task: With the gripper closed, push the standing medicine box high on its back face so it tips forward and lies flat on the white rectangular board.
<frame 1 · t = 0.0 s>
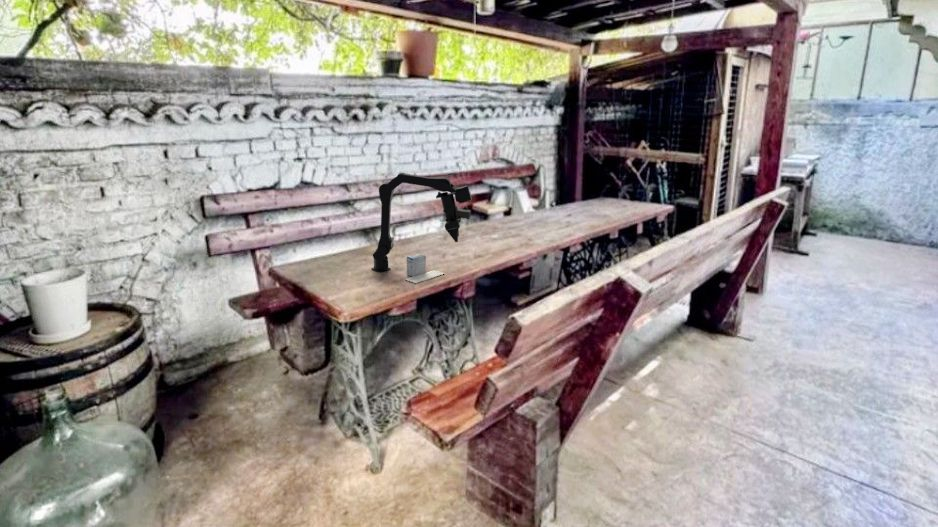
hand: (457, 239, 228), 15 cm above the table, tool pointing down, fingers open, 9 cm apart
medicine box: (416, 274, 229), on the table
white rectangular board: (425, 277, 225), on the table
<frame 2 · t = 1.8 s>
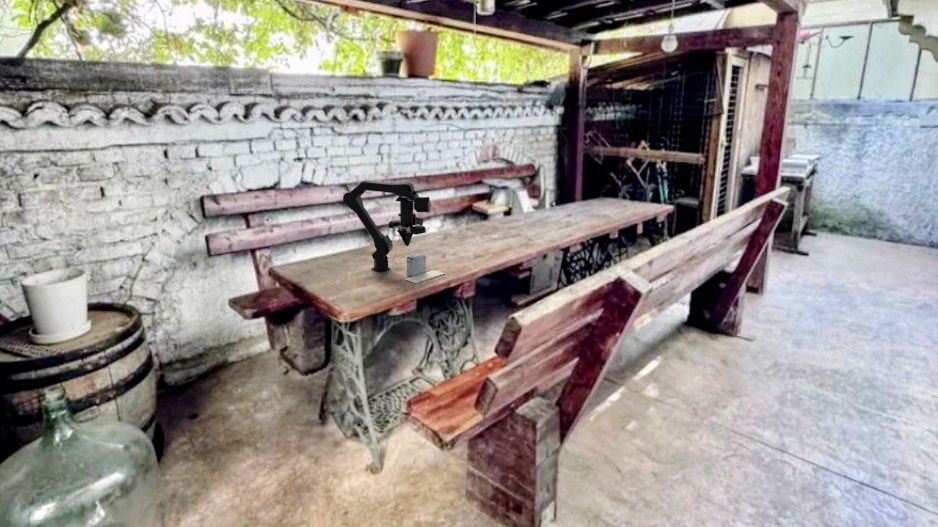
hand: (407, 245, 229), 12 cm above the table, tool pointing down, fingers closed
nothing on the table moved.
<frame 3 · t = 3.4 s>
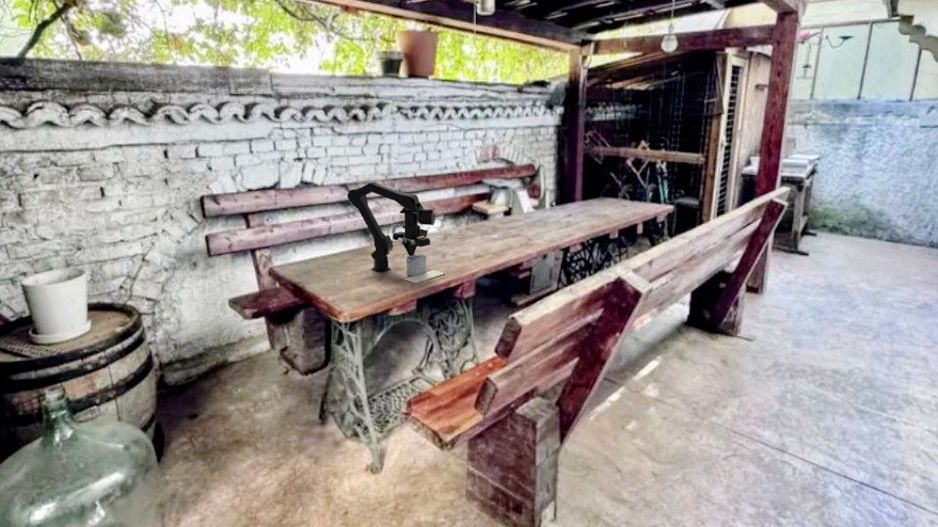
hand: (411, 257, 229), 7 cm above the table, tool pointing down, fingers closed
medicine box: (416, 274, 229), on the table, touching gripper
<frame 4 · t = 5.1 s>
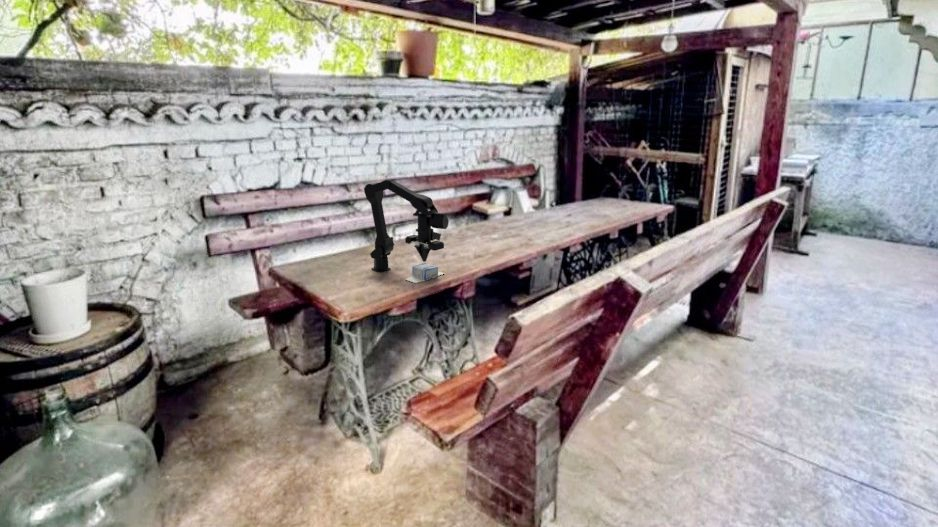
hand: (424, 261, 223), 7 cm above the table, tool pointing down, fingers closed
medicine box: (418, 269, 227), point 3 cm above the table, touching white rectangular board
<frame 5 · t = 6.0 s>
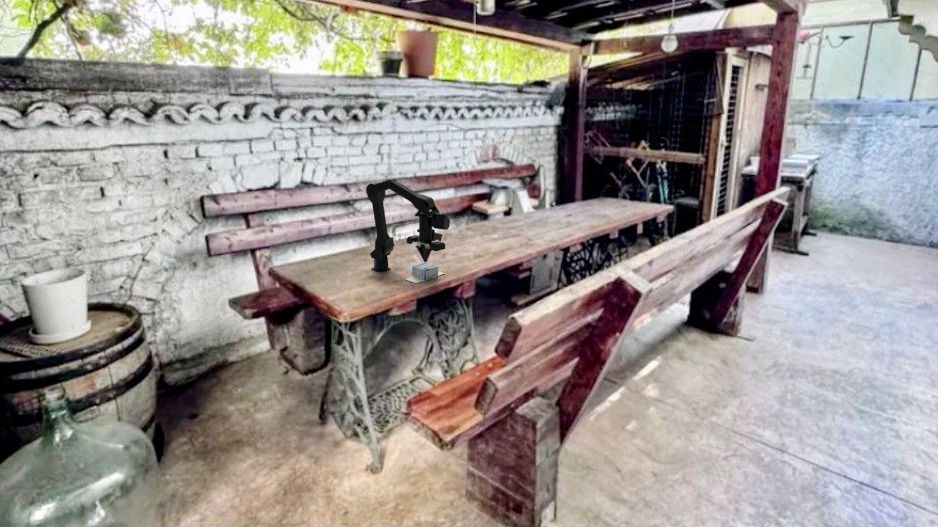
hand: (425, 261, 223), 7 cm above the table, tool pointing down, fingers closed
nothing on the table moved.
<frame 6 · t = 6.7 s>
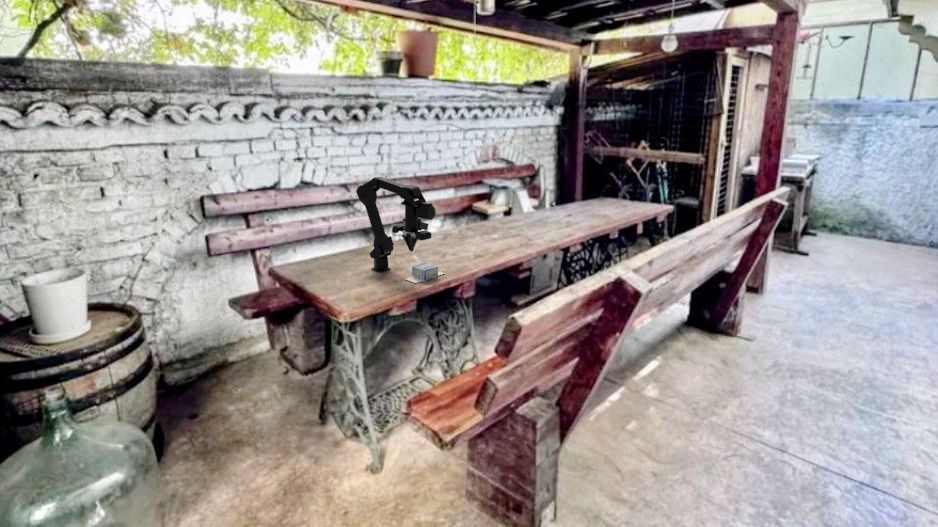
hand: (411, 251, 222), 12 cm above the table, tool pointing down, fingers closed
nothing on the table moved.
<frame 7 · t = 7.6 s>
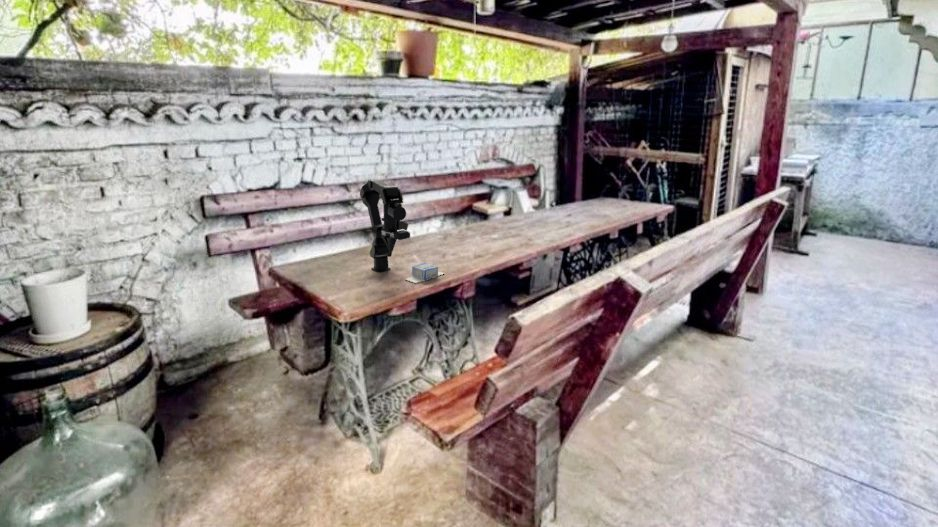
hand: (391, 251, 220), 12 cm above the table, tool pointing down, fingers closed
nothing on the table moved.
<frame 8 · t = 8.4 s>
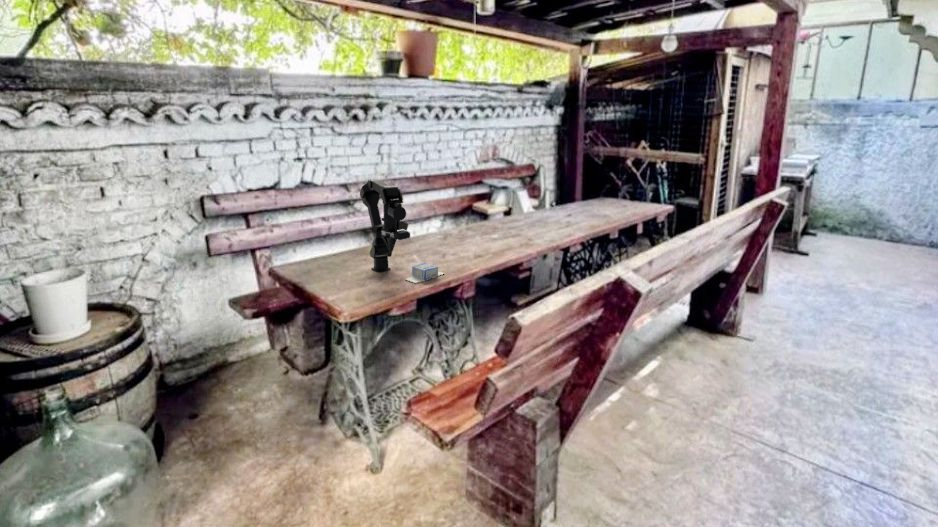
hand: (391, 251, 220), 12 cm above the table, tool pointing down, fingers closed
nothing on the table moved.
at the end: medicine box tilted 89°; medicine box touching white rectangular board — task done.
